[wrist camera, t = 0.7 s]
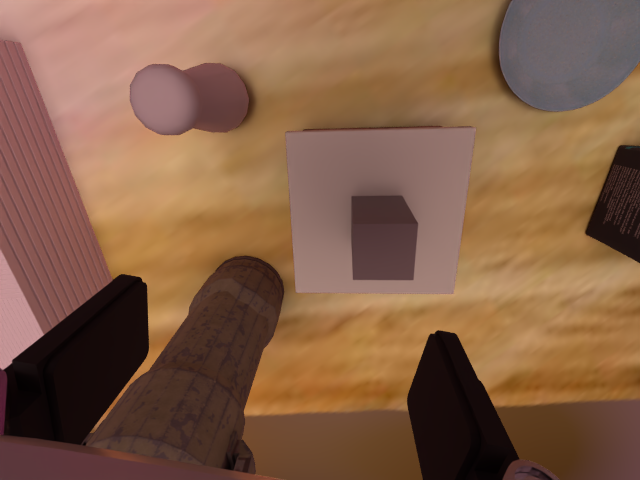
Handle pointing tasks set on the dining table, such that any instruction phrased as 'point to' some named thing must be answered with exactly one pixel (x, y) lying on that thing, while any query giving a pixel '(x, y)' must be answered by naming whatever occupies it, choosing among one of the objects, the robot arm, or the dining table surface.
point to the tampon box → (620, 205)
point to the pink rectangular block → (38, 218)
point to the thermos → (202, 375)
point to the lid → (378, 208)
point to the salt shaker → (188, 98)
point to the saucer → (568, 50)
